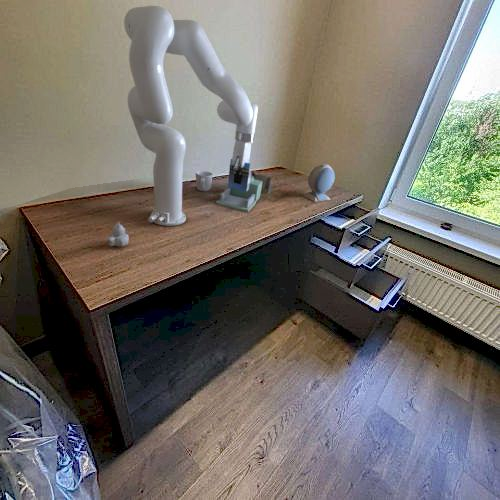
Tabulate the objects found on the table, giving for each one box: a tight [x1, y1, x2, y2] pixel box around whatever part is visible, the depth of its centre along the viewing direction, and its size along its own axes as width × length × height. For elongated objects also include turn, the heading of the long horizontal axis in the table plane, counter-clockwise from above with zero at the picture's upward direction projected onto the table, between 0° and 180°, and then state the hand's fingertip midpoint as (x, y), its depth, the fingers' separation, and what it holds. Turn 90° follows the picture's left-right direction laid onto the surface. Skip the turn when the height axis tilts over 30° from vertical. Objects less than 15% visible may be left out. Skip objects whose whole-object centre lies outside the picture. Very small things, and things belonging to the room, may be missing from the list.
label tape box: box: [227, 158, 252, 192], centre depth 118 cm, size 9×4×12 cm, turn 72°
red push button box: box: [230, 175, 263, 202], centre depth 132 cm, size 8×14×10 cm, turn 72°
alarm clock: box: [302, 163, 336, 203], centre depth 144 cm, size 14×10×18 cm
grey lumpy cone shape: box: [106, 221, 130, 248], centre depth 81 cm, size 5×7×8 cm
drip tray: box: [215, 187, 257, 213], centre depth 124 cm, size 12×15×4 cm
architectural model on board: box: [251, 169, 275, 195], centre depth 142 cm, size 11×3×10 cm, turn 56°
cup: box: [195, 170, 214, 192], centre depth 131 cm, size 11×8×8 cm
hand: (239, 181), depth 120 cm, fingers closed on label tape box, 4 cm apart
